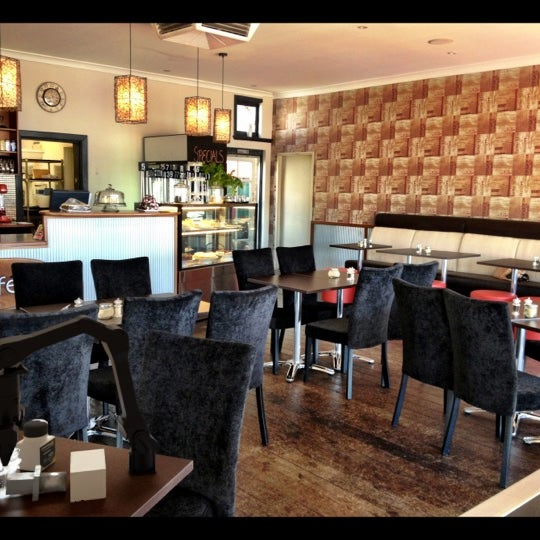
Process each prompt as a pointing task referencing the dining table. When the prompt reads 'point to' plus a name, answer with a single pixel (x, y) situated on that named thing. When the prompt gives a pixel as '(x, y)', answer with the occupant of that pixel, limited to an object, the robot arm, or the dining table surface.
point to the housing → (87, 475)
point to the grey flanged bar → (35, 482)
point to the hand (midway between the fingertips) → (7, 457)
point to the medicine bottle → (36, 445)
